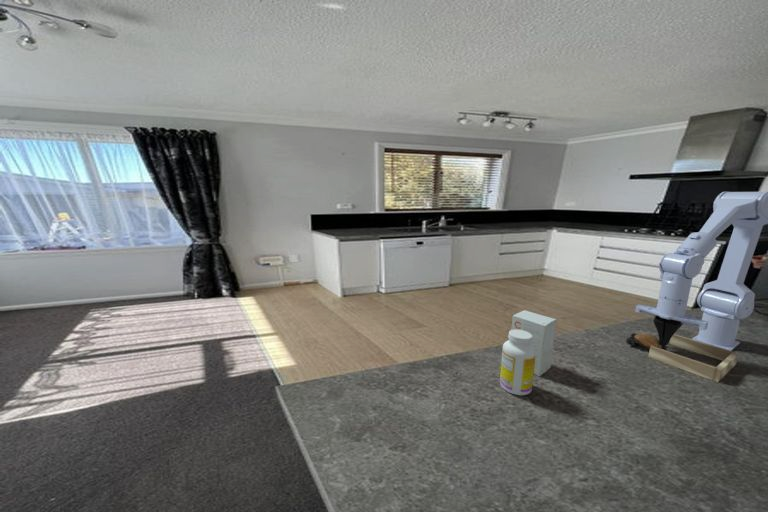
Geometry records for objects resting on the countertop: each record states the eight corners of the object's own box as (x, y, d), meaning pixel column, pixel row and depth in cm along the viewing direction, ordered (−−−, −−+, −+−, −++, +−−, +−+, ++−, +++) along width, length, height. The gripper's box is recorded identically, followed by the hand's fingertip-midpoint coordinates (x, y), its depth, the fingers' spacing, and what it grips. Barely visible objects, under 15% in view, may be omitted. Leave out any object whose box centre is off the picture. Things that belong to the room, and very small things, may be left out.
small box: (551, 368, 75) (557, 319, 73) (539, 377, 71) (546, 325, 69) (519, 354, 81) (524, 309, 79) (507, 362, 77) (512, 315, 75)
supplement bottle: (531, 383, 69) (537, 330, 67) (532, 400, 63) (538, 343, 61) (500, 375, 72) (505, 325, 69) (498, 391, 66) (503, 337, 63)
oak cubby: (670, 343, 89) (672, 333, 89) (736, 363, 78) (739, 353, 78) (648, 356, 81) (650, 346, 81) (718, 382, 70) (720, 370, 70)
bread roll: (628, 336, 95) (629, 325, 94) (664, 345, 89) (666, 333, 88) (624, 348, 87) (626, 336, 86) (663, 359, 81) (665, 346, 81)
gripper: (634, 292, 86) (626, 337, 88) (706, 309, 74) (694, 359, 76) (644, 289, 89) (636, 331, 92) (714, 304, 77) (703, 352, 80)
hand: (663, 344), depth 84 cm, fingers closed
